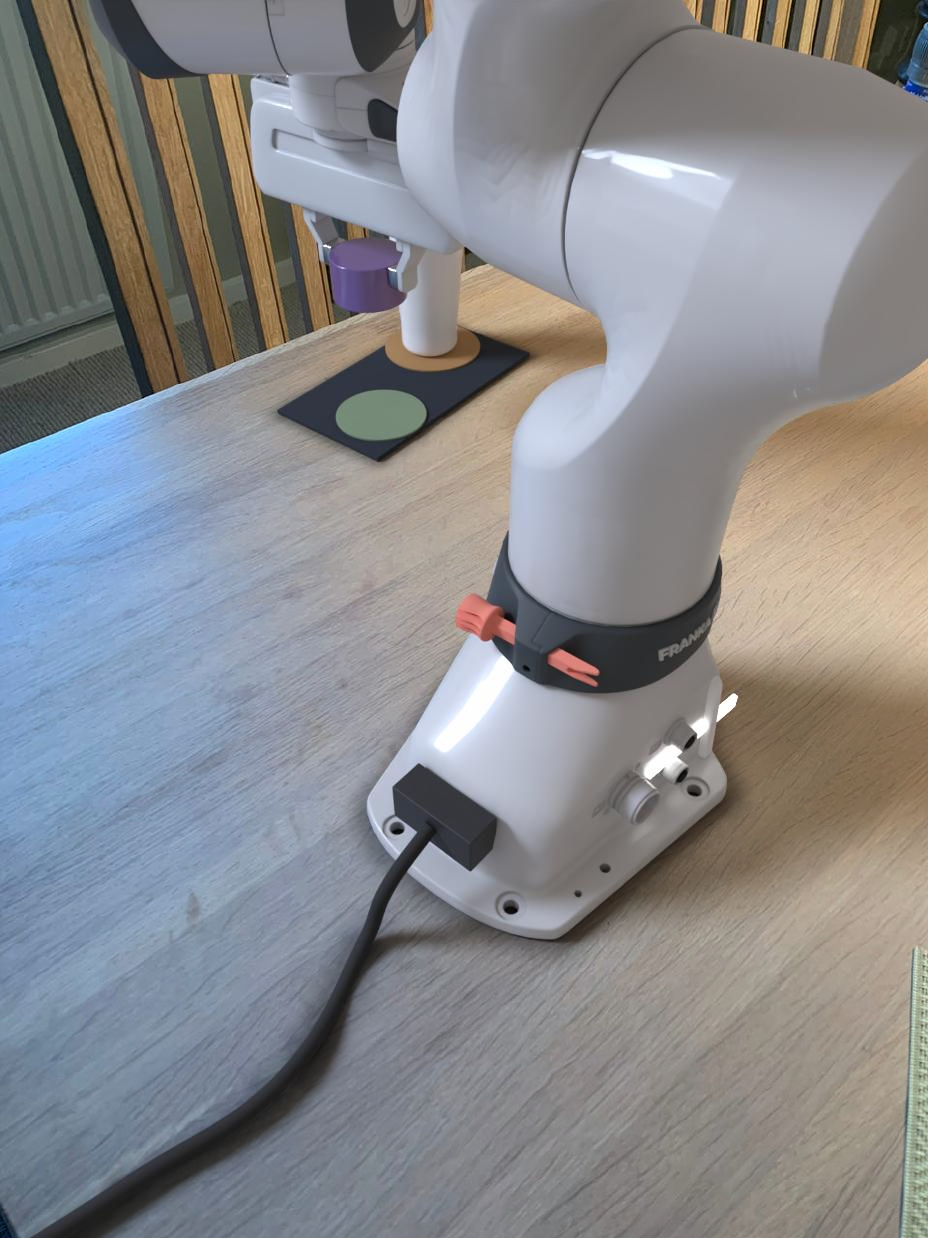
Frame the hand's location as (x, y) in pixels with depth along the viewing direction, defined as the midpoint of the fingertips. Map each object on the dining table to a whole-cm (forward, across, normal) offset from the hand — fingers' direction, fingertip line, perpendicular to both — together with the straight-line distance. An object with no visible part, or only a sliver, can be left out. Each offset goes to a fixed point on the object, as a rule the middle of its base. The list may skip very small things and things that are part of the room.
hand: (368, 275), depth 78 cm
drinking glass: (+13, -4, +12) cm, 18 cm away
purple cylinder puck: (+2, 0, 0) cm, 2 cm away
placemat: (+13, -2, +6) cm, 15 cm away
